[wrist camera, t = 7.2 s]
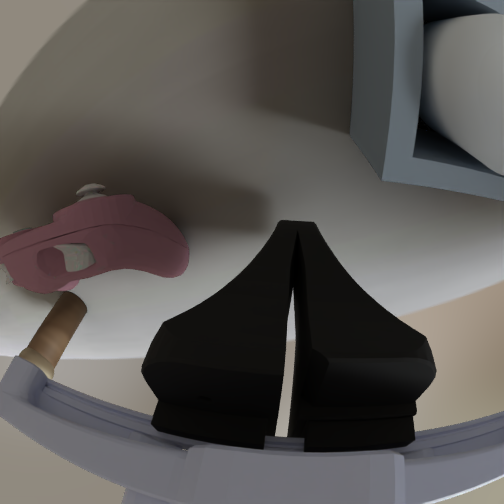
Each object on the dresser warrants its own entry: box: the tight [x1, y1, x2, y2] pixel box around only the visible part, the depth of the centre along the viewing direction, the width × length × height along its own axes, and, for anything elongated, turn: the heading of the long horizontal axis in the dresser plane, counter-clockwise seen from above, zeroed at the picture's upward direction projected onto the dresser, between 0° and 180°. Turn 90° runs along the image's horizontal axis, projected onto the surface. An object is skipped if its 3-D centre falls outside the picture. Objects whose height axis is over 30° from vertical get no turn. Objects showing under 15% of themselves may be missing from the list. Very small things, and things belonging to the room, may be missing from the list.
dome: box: [419, 13, 504, 175], centre depth 5 cm, size 4×4×4 cm
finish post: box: [19, 292, 87, 380], centre depth 16 cm, size 3×3×8 cm
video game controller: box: [0, 183, 189, 294], centre depth 12 cm, size 10×5×7 cm, turn 106°
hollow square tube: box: [350, 0, 504, 201], centre depth 6 cm, size 6×6×4 cm
